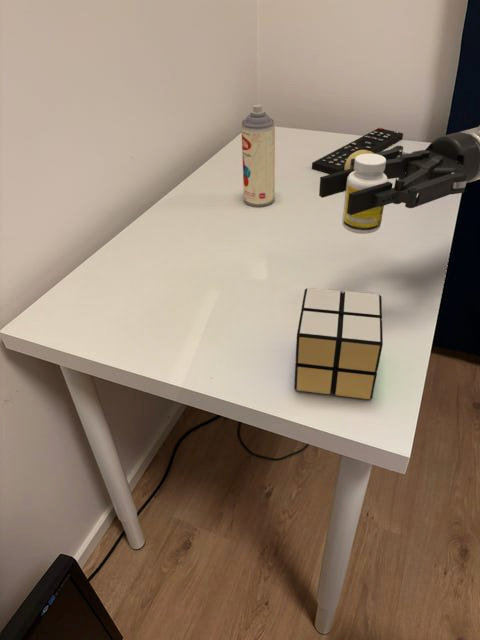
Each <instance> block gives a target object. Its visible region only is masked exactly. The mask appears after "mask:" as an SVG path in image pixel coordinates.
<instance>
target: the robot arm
mask: <svg viewBox="0 0 480 640" xmlns="http://www.w3.org/2000/svg"><path fill="white" fill-rule="evenodd" d="M374 154H378V155H381V156H383V157H385V159H386V165H385V170H384V172H382V173H384V174H385V175H386V176H387V179H388V180H391V179H392V180H393V179H395V181H394V185H393V183H392V182H390V181H388V182H386V183H382V184H379V185H376V186H372V187H369V188H366V189H362V190H359V191H356V192H352V193H349V200H348V209H347V213H348V214H349V215H353V214H356V213H359V212H362V211H366V210H369V209H372V208H375V207H381V206H384V207H385V206H387V205H392V204H394V205H400V204H402V203H403V204H405V205H404V207H405V208H407V209H414V208H417V207H420V206H422V205H425V204H429V203H431V202H433V201H436V200H439V199H441V198H445V197H447V196H450V195H457V194H458V195H459V194H463V193H465V189H466V185H467V184H469V183H472V182H475V181H478V180H480V125H478V126H476V127H473V128H470V129H465V130H461V131H458V132H453V133H449V134H446V135H442V136H439V137H436V138H435V139H434V140H433V141H431V142H430V144H429V145H428V146H427V147H426V148H425V149H421V150H415V151H412V152H411V153H408V152H405V151H404V146H402V145H396V146H394V147H392V148H391V149H385V150H383V151H381V152H378V153H374ZM354 163H355V158H354V159H351V163H350V169H348V170H344V171H341V172H337V173H333V174H327V175H323V176H320V177H319V191H318V196H319V197H320V198H326V197H330V196H334V195H336V194H337V195H338V194H340V193H344V192H346V184H347V178H348V176H349V174H350V173H351V172H353V171H355V170H354ZM393 186H394V187H393Z"/></svg>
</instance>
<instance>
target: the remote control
mask: <svg viewBox="0 0 480 640" xmlns="http://www.w3.org/2000/svg"><path fill="white" fill-rule="evenodd" d="M403 138H404V133H403V132H400V131H395V130H391V129H385V128H382V127H377V128H376V129H374V130H372V131H370V132H368V133H366V134H364V135H362V136H360V137H359V138H357V139H355V140H352V141H351V142H349V143H347V144H345V145H343V146H342V147H340V148H338V149H336V150H334V151H332V152H330V153H328V154H326V155H324V156H322V157H320V158H318V159H316V160H315V161H312V162H311V169H312V170H315V171H318V172H322V173H325V174H327V175H330V174H333V173H337V172H341V171H344V170H345V163H346V161H347V159H348V157H349V156H350V155H351V154H352V153H354V152H356V151H359V150H367V151H371V152H373V153H378V152H382V151H385V150H387V149H388V148H390V147H392V146H393V145H395V144H396V143H399V142H401V141H402V140H403Z"/></svg>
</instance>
